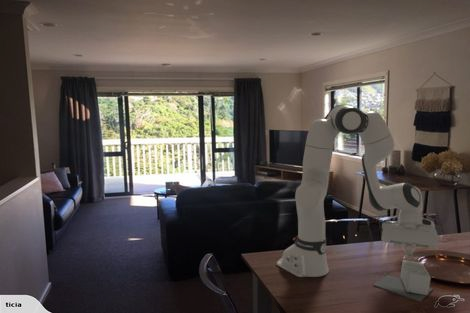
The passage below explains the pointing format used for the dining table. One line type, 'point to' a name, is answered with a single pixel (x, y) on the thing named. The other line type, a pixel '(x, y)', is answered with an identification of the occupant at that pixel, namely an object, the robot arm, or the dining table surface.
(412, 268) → the supplement box
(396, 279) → the mat
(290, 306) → the dining table surface
